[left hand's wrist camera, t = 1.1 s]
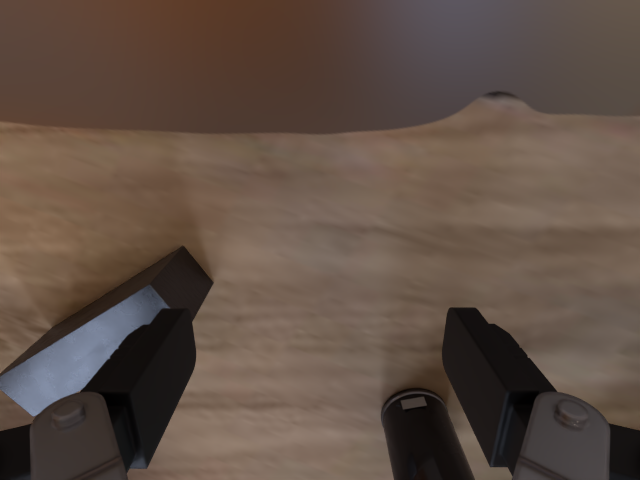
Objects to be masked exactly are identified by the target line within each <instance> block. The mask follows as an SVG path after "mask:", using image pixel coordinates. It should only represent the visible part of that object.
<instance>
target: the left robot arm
mask: <svg viewBox="0 0 640 480" xmlns="http://www.w3.org/2000/svg"><path fill="white" fill-rule="evenodd" d="M442 360H443V366H444V369H445V372H446V374H447V376H448V378H449V380H450V382H451V385H452V387H453V389H454V391H455V393H456V395H457V397H458V399H459V402H460V404H461V406H462V408H463V410H464V412H465V414H466V416H467V419H468V421H469V423H470V425H471V427H472V429H473V431H474V434H475V436H476V438H477V440H478V442H479V444H480V446H481V448H482V451H483V453H484V455H485V457H486V459H487V461H488V463H489V466H490V467H508V469H509V471H510V472H511V474H512V476H513V478H512V480H640V431H639V430H635V429H630V428H626V427H622V426H617V425H613V424H609V423H608V422H607V420H606V419H605V417H604V416H603V415H602V414H601V413H600V412H599V411H598V410H597V409H595V408H594V407H593V406H591V405H590V404H588V403H587V402H585V401H583V400H581V399H579V398H577V397H574V396H572V395H569V394H565V393H561V392H557V391H556V389H555V388H554V387H553V386H552V385H551V383H550V382H549V381H548V380H547V379H546V377H545V376H544V375H543V374H542V372H541V371H540V370H539V369H538V368H537V366H536V365H535V364H534V363H533V362H532V360H531V359H530V358H528V357H527V354H526V353H525V352H524V351H523V349H522V348H519V345H518V343H517V342H516V341H515V340H514V339H513V337H512V336H511V335H510V334H509V333H508V332H506V331H505V330H503V329H502V328H500V327H499V326H497V325H496V324H488V322H487V321H486V320H485V319H484V317H483V316H482V315H481V313H480V312H479V311H478V310H477V309H476V308H449V310H448V312H447V318H446V325H445V333H444V340H443V347H442ZM195 362H196V347H195V340H194V333H193V325H192V318H191V313H190V310H189V309H188V308H162V309H161V310H160V311H159V312H158V314H157V315H156V316H155V318H154V319H153V320H152V322H151V323H150V324H143V325H142V326H140V327H139V328H137V329H136V330H134V331H133V332H131V333H130V334H128V335H127V336H126V338H125V339H124V340H123V341H122V342H121V344H120V345H119V346H118V349H116V350H115V351H114V352H113V353H112V354H111V356H110V359H107V360H106V362H105V363H104V364H103V365H102V366H101V368H100V369H99V370H98V371H97V372H96V374H95V375H94V376H93V377H92V378H91V380H90V381H89V382H88V383H87V384H86V386H85V387H84V388H83V389H82V390H81V392H79V393H75V394H71V395H68V396H66V397H63V398H61V399H59V400H57V401H55V402H53V403H52V404H50V405H49V406H47V407H46V408H45V409H43V410H42V411H41V412H40V413H39V414H38V415H37V416H36V417H35V419H34V420H33V422H32V424H29V425H25V426H21V427H17V428H12V429H8V430H4V431H0V480H128V478H127V472H128V470H129V469H147V467H148V465H149V463H150V461H151V459H152V457H153V455H154V453H155V451H156V448H157V446H158V444H159V442H160V440H161V438H162V436H163V434H164V432H165V430H166V427H167V425H168V423H169V421H170V419H171V417H172V415H173V413H174V411H175V408H176V406H177V404H178V402H179V400H180V398H181V396H182V394H183V392H184V390H185V387H186V385H187V383H188V381H189V379H190V377H191V375H192V373H193V370H194V367H195ZM381 420H382V425H383V428H384V432H385V437H386V442H387V447H388V452H389V457H390V462H391V467H392V472H393V477H394V480H475V478H474V476H473V473H472V471H471V468H470V466H469V464H468V461H467V459H466V456H465V454H464V451H463V449H462V447H461V444H460V442H459V439H458V437H457V434H456V432H455V429H454V427H453V424H452V422H451V419H450V417H449V415H448V411H447V408H446V406H445V403H444V401H443V400H442V399H441V398H440V397H439V396H438V395H437V394H435V393H433V392H431V391H428V390H424V389H410V390H405V391H402V392H400V393H397V394H396V395H394V396H392V397H391V398H390V399H389V400H388V401H387V402H386V403H385V405H384V406H383V409H382V412H381Z"/></svg>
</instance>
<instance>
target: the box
mask: <svg viewBox="0 0 640 480" xmlns="http://www.w3.org/2000/svg"><path fill="white" fill-rule="evenodd" d="M212 285H213V281H212V280H211V279H210V278H209V277H208V275H207V274H206V273H205V272H204V271H203V269H202V268H201V267H200V266H199V264H198V263H197V262H196V261H195V260H194V258H193V257H192V256H191V255H190V253H189V252H188V251H187V250H186V249H185V247H184V246H182V247H181V248H179V249H177V250H176V251H174V252H173V253H171V254H169V255H168V256H166V257H165V258H163V259H161V260H160V261H158V262H157V263H155V264H153V265H152V266H150V267H149V268H147V269H145V270H144V271H142V272H141V273H139V274H138V275H136V276H134V277H133V278H131V279H130V280H128V281H126V282H125V283H123V284H122V285H120V286H118V287H117V288H115V289H114V290H112V291H110V292H109V293H107V294H106V295H104V296H102V297H101V298H99V299H98V300H96V301H94V302H93V303H91V304H90V305H88V306H86V307H85V308H83V309H82V310H80V311H78V312H77V313H75V314H74V315H72V316H70V317H69V318H67V319H66V320H64V321H62V322H61V323H59V324H58V325H56V326H54V327H53V328H51V329H50V330H49V331H48V332H47V333H46V334H44V335H43V336H42V337H41V338H40V339H39V340H38V341H37V342H35V343H34V344H33V345H32V346H31V347H30V348H29V349H27V350H26V351H25V352H24V353H23V354H22V355H21V356H19V357H18V358H17V359H16V360H15V361H14V362H13V363H11V364H10V365H9V366H8V367H7V368H6V369H5V370H4V371H2V372H1V373H0V390H2V391H3V392H4V393H5V394H6V395H8V396H9V397H10V398H11V399H13V400H14V401H15V402H16V403H17V404H19V405H20V406H21V407H22V408H23V409H25V410H26V411H27V412H28V413H29V414H31V415H32V416H33V417H34V416H36V415H38V414H39V413H40V412H41V411H42V410H43V409H45V408H46V407H47V406H49V405H50V404H52V403H53V402H55V401H57V400H59V399H61V398H63V397H66V396H68V395H71V394H75V393H76V392H78V391H80V390H82V389H83V388H84V387H85V386H86V384H87V383H88V382H89V381H90V380H91V378H92V377H93V376H94V375H95V374H96V372H97V371H98V370H99V369H100V368H101V366H102V365H103V364H104V363H105V362H106V360H107V359H110V356H111V354H112V353H113V352H114V351H115V350H116V349H118V346H119V345H120V344H121V342H122V341H123V340H124V339H125V338H126V336H127V335H128V334H130V333H131V332H133V331H134V330H136V329H137V328H139V327H140V326H142V325H143V324H150V323H151V322H152V320H153V319H154V318H155V316H156V315H157V314H158V312H159V311H160V310H161V309H162V308H188V309H189V310H190V313H191V318H192V321H193V320H194V318H195V316H196V314H197V312H198V310H199V309H200V307H201V305H202V303H203V301H204V300H205V298H206V296H207V294H208V292H209V290H210V289H211V287H212Z"/></svg>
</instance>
